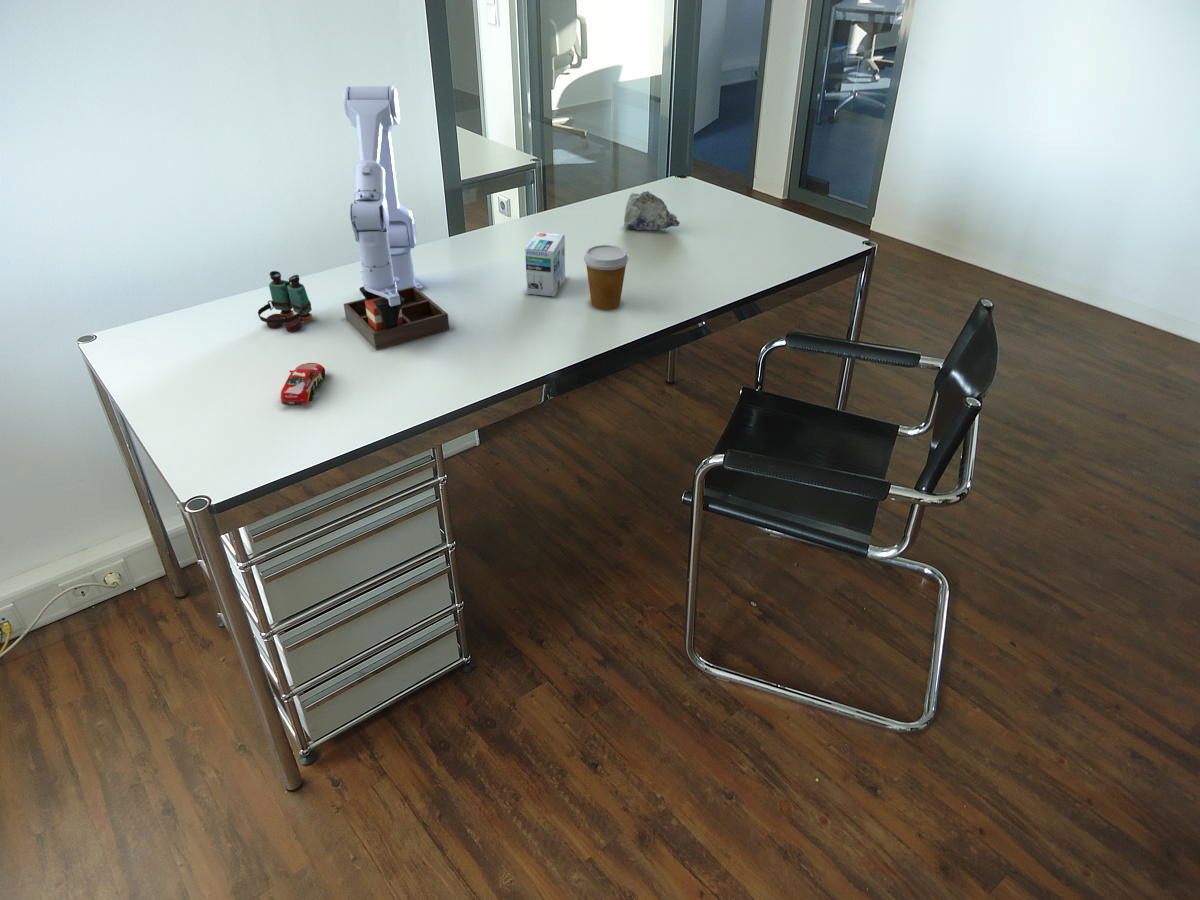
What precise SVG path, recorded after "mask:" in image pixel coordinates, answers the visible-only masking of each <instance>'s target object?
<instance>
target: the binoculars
mask: <svg viewBox="0 0 1200 900" xmlns="http://www.w3.org/2000/svg"><path fill="white" fill-rule="evenodd" d="M269 277H270V279H271V280H272V281H271V282H270V283H269V284H268V288H269V292H270V297H271V300H268V301H267V304H265V305H264V306H262V307H261V308H259V309H258V311H257V315H258V318H259V320H260V321H261V322H264V323H266V326H267V327H268V329H273V330H274V329H279V328H281V327H282V326H283V325H284V329H286V331H287V332H289V333H291V332H292V333H293V332H296V331H298V330H300V329H301V327H303V322H305V323H306V322H310V321H313V320H314V317H313V314H312V310H313V307H312V303H311V301H310V299H309V295H308V293H307V291H306V287H305V285H304V284H302V283H301V282H300V276H299V274H293V275H292V276H290V277H289V278H288V280H284V279H282V274H281V272H280V271H277V270H272V271H270V272H269ZM273 309H274V310H276V311H280V312H279V313H273V314H271V315H268V316H267V317H263V316H261V314H263V313H264V312H265V311H268V310H270V311H272V310H273ZM295 313H296V314H295Z"/></svg>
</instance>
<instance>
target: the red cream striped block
mask: <svg viewBox="0 0 1200 900" xmlns="http://www.w3.org/2000/svg"><path fill="white" fill-rule="evenodd" d="M379 299H383V297H378V298H374V299H370V300H366V301H365V304H366V313H367V317H368V323H369V326H370V327H371V328H372V329H373V330H374V331H375V332H377V331H381V330H384V329H385V328H384V325H383V321H382V318H381V315H380V313H379V311H378V309H377V307H376V306H375V304H374V303H373V301H376V300H379ZM399 325H403V321H402V311H401V309H400V312H399V317H398V325H397V326H399Z"/></svg>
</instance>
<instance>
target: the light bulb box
mask: <svg viewBox="0 0 1200 900" xmlns="http://www.w3.org/2000/svg"><path fill="white" fill-rule="evenodd" d="M524 255H525V258H524V259H525V280H526V294H528V295H534V296H535V295H537V296H545V297H552V298H553V297H556V295H557V293H558V292H559V290H560V288H561V287H562V285H563V284H564V282H565V280H566V236H565V234H562V233H561V234H560V233H550V232H542V231H536V233H535V234H534V236H532V239H531V240H530V241H529V242H528V244H527V245H526V247H525V248H524Z"/></svg>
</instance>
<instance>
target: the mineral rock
mask: <svg viewBox="0 0 1200 900" xmlns="http://www.w3.org/2000/svg"><path fill="white" fill-rule="evenodd" d="M677 218H678V217H677V216H676V215H675V214H674V213H672V212H670V210H669V209H668V206H667V204H665V201H663V200H662V199H661V198H660V197H658V196H657V195H655V194H653V193H651V192H650V191H648V190H646V191H642V192H641V193H635V192H631V193H630V195H629V198H628V200H627V201H626V206H625V210H624V219H623V220H624V221H623V227H624V228H625V229H627V230H628V229H629V230H639V231H640V230H641V231H642V230H646V231H655V230H656V231H660V230H662V229H669V228H671V227H678V226H680V225H681V222H680V221H679V220H678V219H677Z"/></svg>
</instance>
